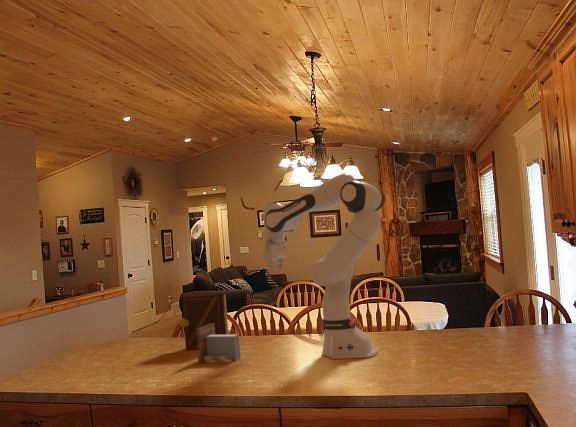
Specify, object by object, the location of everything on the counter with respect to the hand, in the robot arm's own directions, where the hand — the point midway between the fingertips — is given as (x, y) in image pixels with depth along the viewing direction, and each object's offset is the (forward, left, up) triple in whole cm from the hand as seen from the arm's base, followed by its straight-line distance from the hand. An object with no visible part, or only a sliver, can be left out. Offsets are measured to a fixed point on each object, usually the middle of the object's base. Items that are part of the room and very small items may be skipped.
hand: (276, 269), depth 241 cm
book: (+36, +6, -34) cm, 50 cm away
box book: (+16, +26, -34) cm, 46 cm away
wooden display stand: (+17, +26, -34) cm, 46 cm away
